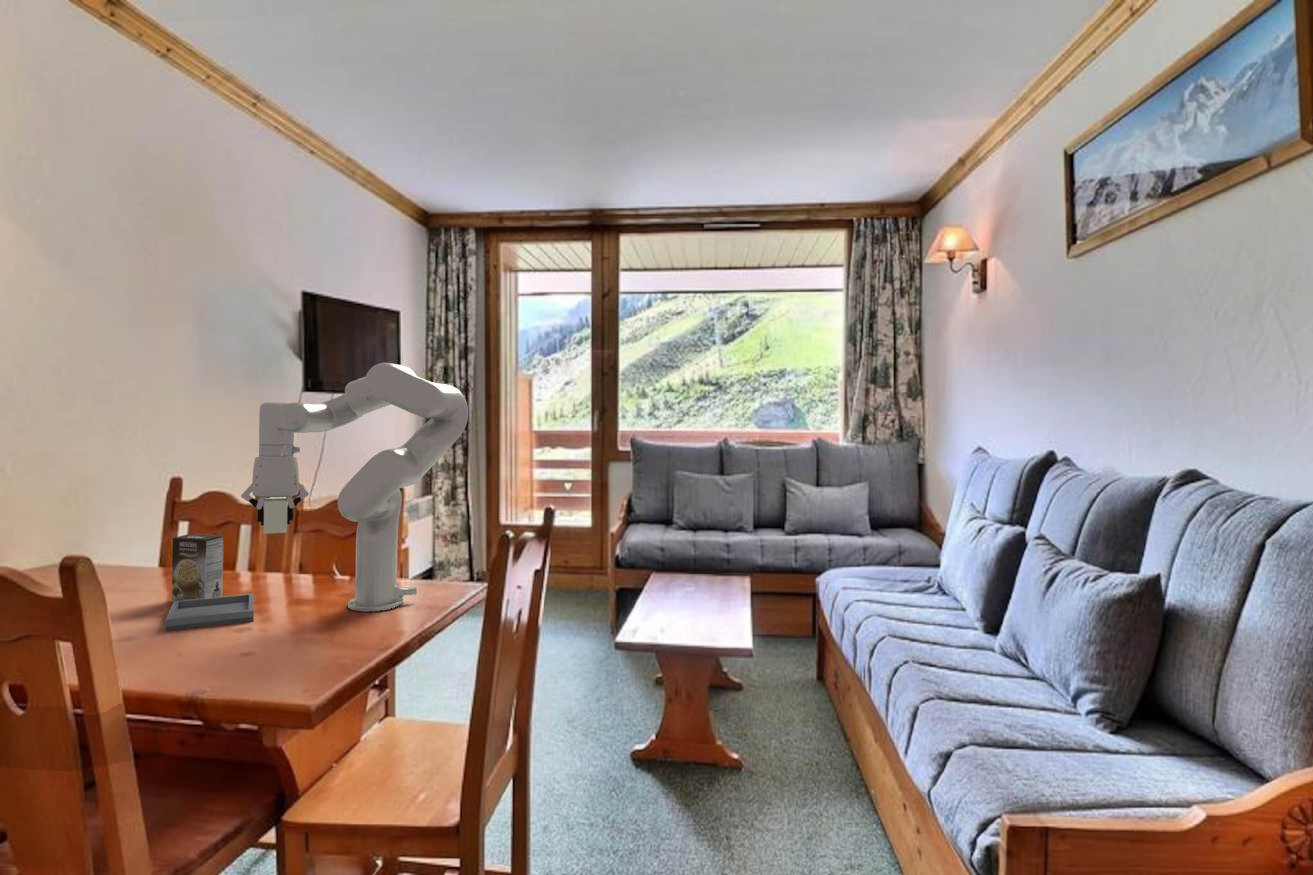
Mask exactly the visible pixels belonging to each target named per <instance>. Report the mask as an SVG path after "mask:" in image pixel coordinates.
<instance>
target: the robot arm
mask: <svg viewBox="0 0 1313 875" xmlns="http://www.w3.org/2000/svg"><path fill="white" fill-rule="evenodd" d="M390 405H391V406H395V407H396V408H398V409H402V410H404V411H405V412H409V414H413V415H414V416H418V417H421V418H426V419H429V420H428V421H427V422H426V423H425V424H423V425H422V426H420V428H418V430H417V429H416V431H415V432H414V434H413V435H412V436H411V437H409V439H408V440H407V441H406V442H405V443H404V444H402V445H401V446H400V447H396V448H388V449H384V450H381V451H380V452H378V453H377V454H375V455H373V456H372V457H371V458H370V459H368V461H367V462H366V463H365V464H364V465H363V466H362V467H361V468H360V469H359V470H358V471H357V473H355V475H354V476H352V478H350V480H349V481H347V482H346V484H345V485H344V487H343V488H342V489H341V490H340V492H339V494H338V498H337V508H338V511H339V513H340V514H341V516H342V517H343V518H345V519H346V520H348V521H351V522H356V523H357V522H358V523H357V528H356V532H355V533H356V535H355V536H356V537H355V538H356V540H355V584H354V586H355V590H354V591H355V593H354V594H355V595H354V597H353V598H351V599H350V600H349V601H348V602H347V608H349V610H352V611H355V612H367V613H368V612H370V611H371V612H380V611H381V610H382V611H388V610H392V609H395V607H396V608H397V606H398V607H400V606H401V605H403V603H404V596H414V595H417V586H410V585H409V586H408V585H407V586H399V584H398V580H397V579H398V541H399V540H398V539H399V536H398V535H399V519H400V515H401V509H402V501H403V499H402V498H403V497H402V492H401V488H406V487H410V486H413V485H415V484H417V483H419V481H421V479H423V477H424V476H425V475H426V474H427V473H428V471H429V470H430V469H431V468H432V467H433V466H435V465H436V463H437V462H439V460H440V459H441V458H442V457H443V456H444V454H446V452H447V451H449V449H450V448H451V447H452V446H453V445H455V443H456V442H457V441H458V439H459V438H460V437H461V435H462V434H463V432H464V430H465V429H466V426H467V423H468V418H469V408H468V402H467V400H466V397H465V396H464V394H463V393H462V392H461V391H460V390H459V389H458V388H457V387H455V386H453V385H451V384H448V383H441V382H440V383H439V382H433V381H429V380H427V379H425V378H422V377H419V376H417V374H416V373H415V372H414V370H413V369H411V368H410V367H408V366H406V365H403V364H397V363H391V362H381V363H377V364H375V365H373V366H372V367H370V369H369V370H368V371H367V373H366V375H365V376H363V377H361V378H358V379H356V380H352V381H349V382H348V383H347V384H346V385H345V388H344V393H343V394H341V395H339V396H337V397H333V398H331V399H328V400H326V401H322V402H305V401H304V402H299V401H298V402H289V403H288V402H287V403H286V402H269V401H268V402H264V403H261V404H260V406H259V412H258V413H259V414H258V416H259V417H258V418H259V419H258V420H259V421H258V423H259V424H258V425H259V426H258V456H255V457H254V461H253V469H252V482H251V484H249V486H248V487H247V488H246V489H245V491H243V492H242V494H241V498H242V499H244V500H245V501H246V502H249V504H251V505H252V506H253V507H254V508H256V509H257V523H260V526H264V500H265V499H266V498H287V525H290V524H291V521H294V508H295V507H296V506H297V505H298V504H299V503H300V502H301V501H303V500H304V499H306V497H307V498H308V496H309V495H310V493H309V492H308V490H307V489H306V488H305V487H304V486H303V485H302V484H301V482H300V480H299V479H300V478H299V476H300V473H299V464H298V458H297V457H296V456H294V455H295V454H297V453H301V447H299V446H295V445H294V441H295V440H294V433H296V434H297V433H299V434H305V433H325V432H328V431H331V430H334V429H337V428H340V427H343V426H345V425H348V424H350V423H353V422H355V421H356V420H358V419H359V418H361V417H363V416H364V415H367V414H369V413H371V412H375V411H376V410H379V409H382V408H385V407H388V406H390ZM251 493H252V495H251ZM299 493H300V494H299ZM298 494H299V495H298ZM297 495H298V496H297ZM253 496H254V497H256V498H258V500H257V499H256V498H254V497H253ZM295 496H296V497H295ZM293 497H295V498H294V499H293ZM400 604H401V605H400ZM399 605H400V606H399ZM391 608H392V609H391ZM382 611H381V612H382Z"/></svg>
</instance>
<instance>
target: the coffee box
mask: <svg viewBox="0 0 1313 875" xmlns="http://www.w3.org/2000/svg"><path fill="white" fill-rule="evenodd" d="M224 541H225V540H224V535H220V534H219V535H218V534H206V533H205V534H204V533H194V532H193V533H189V534H184V535H178V536H175V537H173V538H172V558H171V559H172V560H171V561H172V563H171V564H172V568H171V569H172V570H171V571H172V572H171V573H172V574H171V603H173V602H174V601H180V600H190V599H201V598H211V597H222V596H223V582H224V581H223V580H224V577H223V576H224Z"/></svg>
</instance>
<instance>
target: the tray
mask: <svg viewBox="0 0 1313 875" xmlns="http://www.w3.org/2000/svg"><path fill="white" fill-rule="evenodd" d="M254 606H255V592H254V593H244V594H243V593H242V594H235V595H233V594H232V595H224V596H223V595H222V597H211V598H201V599H190V600H180V601H174V602H172V604H171V607H170V608H169V611H168V613H167V616H166V619H165V632H172V631H179V630H180V631H181V630H188V629H189V630H190V629H197V628H208V627H217V626H225V625H233V624H241V623H240V622H243V623H251V621H252V622H254V614H255V613H254V612H255V610H254V609H255V607H254ZM224 624H225V625H224Z"/></svg>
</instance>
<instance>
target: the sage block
mask: <svg viewBox="0 0 1313 875" xmlns="http://www.w3.org/2000/svg"><path fill="white" fill-rule="evenodd" d="M287 507H288V501H287V498H286V497H265V500H264V503H263V509H264V525H263V535H264V534H265V535H268V534H282V533H283V534H285V533H288V524H287Z"/></svg>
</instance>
